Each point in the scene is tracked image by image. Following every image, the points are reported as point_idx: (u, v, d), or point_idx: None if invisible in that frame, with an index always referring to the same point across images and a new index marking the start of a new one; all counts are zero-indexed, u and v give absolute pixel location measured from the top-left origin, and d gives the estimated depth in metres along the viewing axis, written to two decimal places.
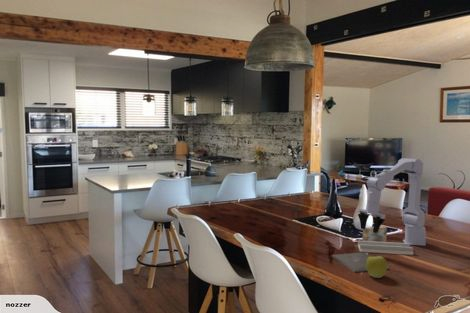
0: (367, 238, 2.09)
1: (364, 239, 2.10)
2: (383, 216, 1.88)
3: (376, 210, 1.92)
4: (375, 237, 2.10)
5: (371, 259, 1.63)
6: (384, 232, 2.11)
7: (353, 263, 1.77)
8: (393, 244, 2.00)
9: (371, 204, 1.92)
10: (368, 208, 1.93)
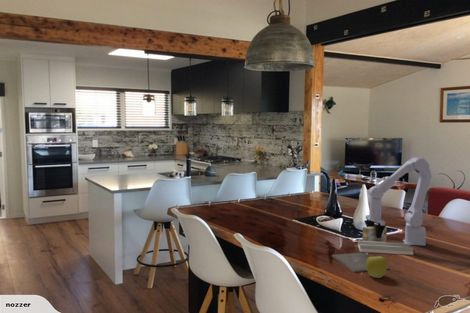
0: (367, 238, 2.09)
1: (364, 239, 2.10)
2: (382, 223, 2.04)
3: (377, 217, 2.08)
4: (375, 237, 2.10)
5: (371, 259, 1.63)
6: (384, 232, 2.11)
7: (353, 263, 1.77)
8: (393, 244, 2.00)
9: (372, 212, 2.09)
10: (370, 216, 2.10)
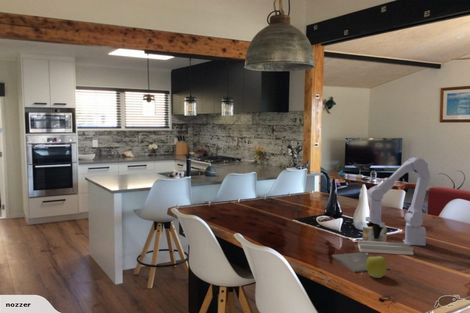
0: (367, 238, 2.09)
1: (364, 239, 2.10)
2: (382, 225, 2.04)
3: (377, 219, 2.08)
4: None
5: (371, 259, 1.63)
6: (384, 232, 2.11)
7: (353, 263, 1.77)
8: (393, 244, 2.00)
9: (372, 214, 2.09)
10: (370, 217, 2.10)
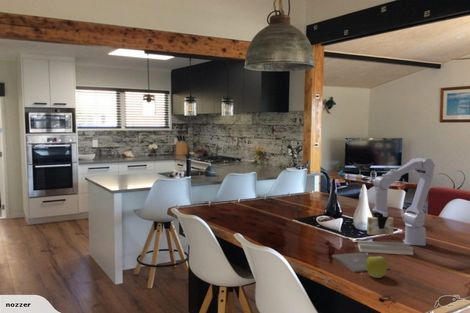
0: (371, 228, 2.03)
1: (368, 229, 2.04)
2: (385, 214, 1.96)
3: (382, 208, 2.00)
4: (381, 229, 2.03)
5: (371, 259, 1.63)
6: (391, 224, 2.02)
7: (353, 263, 1.76)
8: (393, 244, 2.00)
9: (376, 203, 2.02)
10: (375, 206, 2.03)
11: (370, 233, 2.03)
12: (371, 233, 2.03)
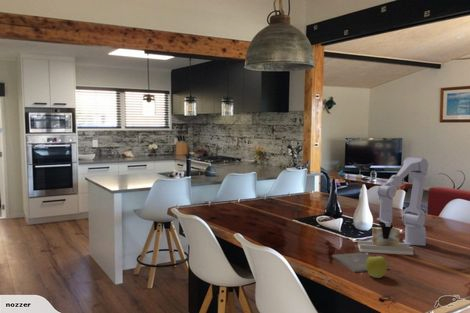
0: (375, 239, 1.98)
1: (372, 240, 1.99)
2: (387, 224, 1.90)
3: (386, 218, 1.95)
4: (385, 239, 1.97)
5: (371, 259, 1.63)
6: (397, 235, 1.96)
7: (353, 263, 1.76)
8: None
9: (380, 212, 1.96)
10: None
11: (374, 243, 1.98)
12: (375, 243, 1.98)
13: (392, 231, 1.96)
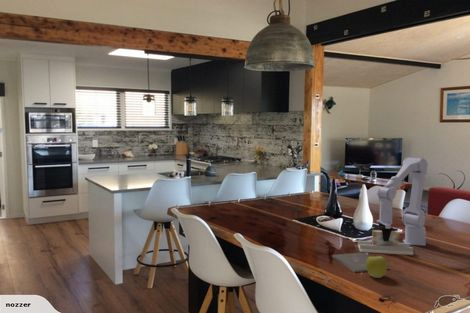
0: (375, 242, 1.98)
1: (372, 243, 1.99)
2: (387, 226, 1.91)
3: (386, 220, 1.95)
4: (385, 242, 1.97)
5: (371, 259, 1.63)
6: (396, 238, 1.96)
7: (353, 263, 1.76)
8: None
9: (380, 214, 1.96)
10: (379, 218, 1.98)
11: None
12: None
13: (392, 234, 1.96)
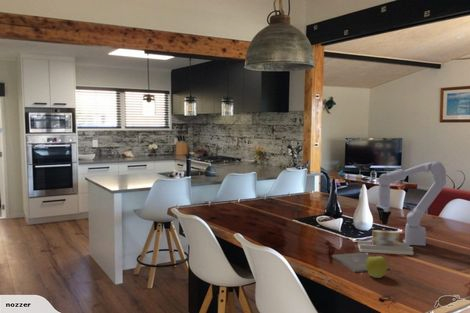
0: (375, 242, 1.98)
1: (372, 243, 1.99)
2: (385, 209, 2.07)
3: (384, 204, 2.12)
4: (385, 242, 1.97)
5: (371, 259, 1.63)
6: (396, 238, 1.96)
7: (353, 263, 1.76)
8: None
9: (379, 198, 2.13)
10: (378, 202, 2.14)
11: None
12: None
13: (392, 234, 1.96)
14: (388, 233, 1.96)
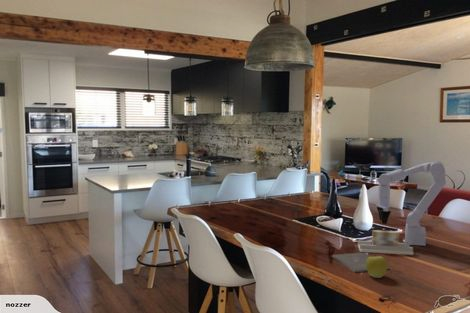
0: (375, 242, 1.98)
1: (372, 243, 1.99)
2: (385, 209, 2.08)
3: (384, 203, 2.13)
4: (385, 242, 1.97)
5: (371, 259, 1.63)
6: (396, 238, 1.96)
7: (353, 263, 1.76)
8: None
9: (379, 198, 2.14)
10: (378, 202, 2.16)
11: None
12: None
13: (392, 234, 1.96)
14: (388, 233, 1.96)
